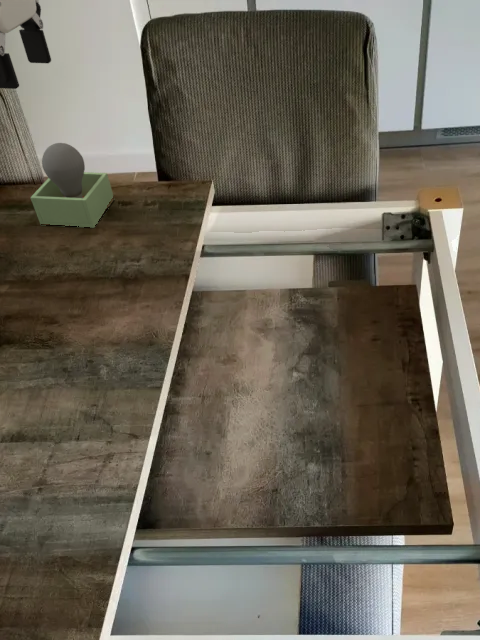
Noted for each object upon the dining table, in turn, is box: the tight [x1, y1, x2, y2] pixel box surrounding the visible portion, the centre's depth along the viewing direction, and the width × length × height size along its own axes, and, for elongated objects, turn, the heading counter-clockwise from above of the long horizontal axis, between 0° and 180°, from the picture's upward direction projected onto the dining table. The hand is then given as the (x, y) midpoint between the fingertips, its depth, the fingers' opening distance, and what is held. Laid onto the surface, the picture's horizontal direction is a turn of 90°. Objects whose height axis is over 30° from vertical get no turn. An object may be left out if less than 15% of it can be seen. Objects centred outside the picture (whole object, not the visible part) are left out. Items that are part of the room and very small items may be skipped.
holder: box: [30, 171, 114, 229], centre depth 102 cm, size 9×9×5 cm
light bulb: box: [41, 142, 86, 198], centre depth 100 cm, size 6×6×10 cm
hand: (24, 74), depth 88 cm, fingers open, 9 cm apart
